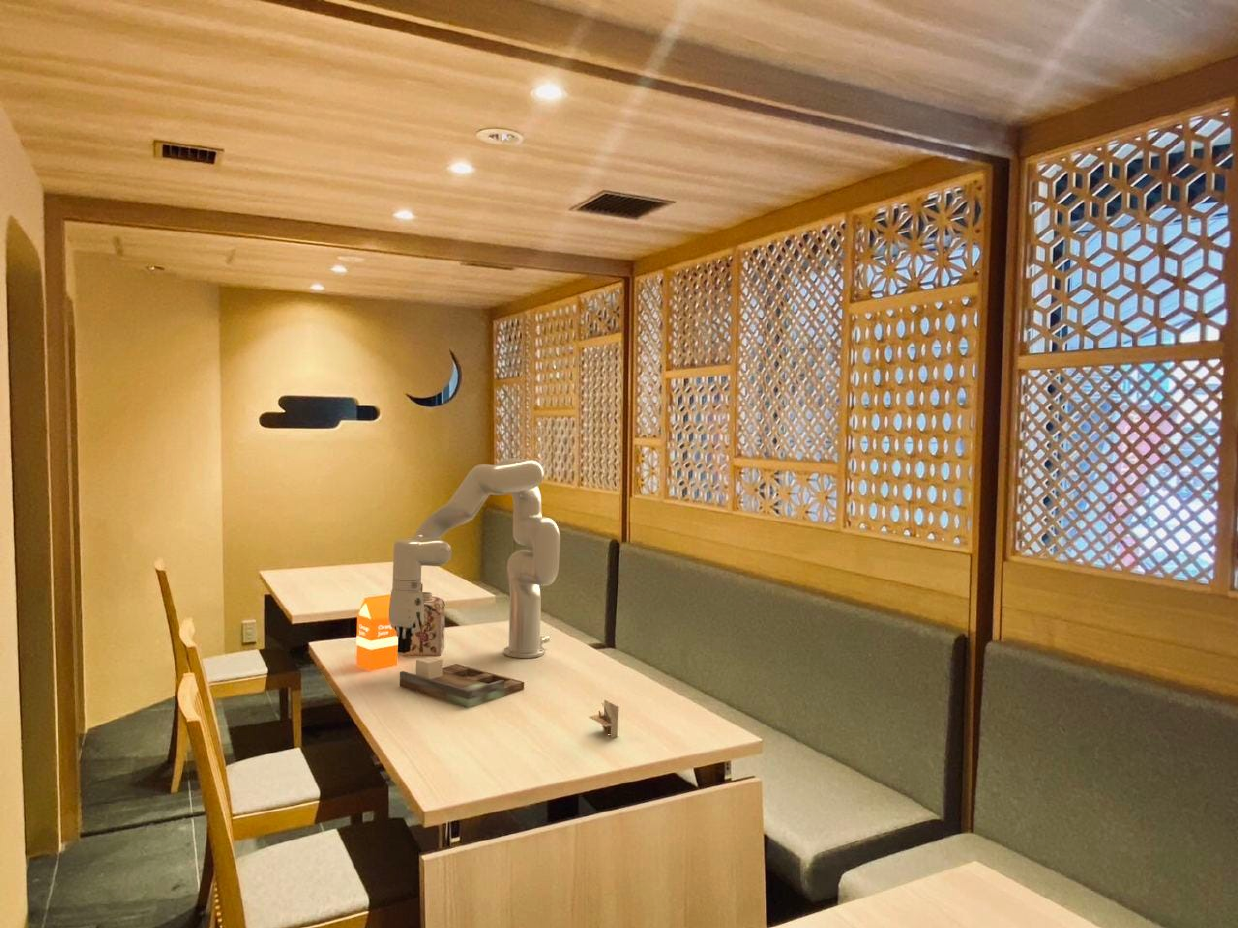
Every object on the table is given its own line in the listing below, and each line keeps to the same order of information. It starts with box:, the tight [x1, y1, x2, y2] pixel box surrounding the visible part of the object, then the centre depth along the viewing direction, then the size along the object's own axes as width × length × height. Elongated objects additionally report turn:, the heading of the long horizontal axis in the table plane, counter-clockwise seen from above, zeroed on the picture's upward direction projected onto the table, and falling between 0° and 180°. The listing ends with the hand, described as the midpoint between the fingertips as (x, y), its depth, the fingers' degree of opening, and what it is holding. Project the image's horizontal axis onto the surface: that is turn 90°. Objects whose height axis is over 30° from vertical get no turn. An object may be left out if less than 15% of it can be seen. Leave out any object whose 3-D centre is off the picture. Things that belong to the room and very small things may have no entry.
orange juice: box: [355, 593, 399, 672], centre depth 252 cm, size 8×9×20 cm
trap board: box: [399, 663, 525, 709], centre depth 233 cm, size 20×26×4 cm
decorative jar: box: [401, 591, 445, 657], centre depth 268 cm, size 12×12×18 cm
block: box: [415, 656, 444, 679], centre depth 236 cm, size 5×5×4 cm
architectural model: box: [589, 699, 619, 738], centre depth 201 cm, size 3×7×7 cm, turn 34°
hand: (404, 651), depth 241 cm, fingers closed
